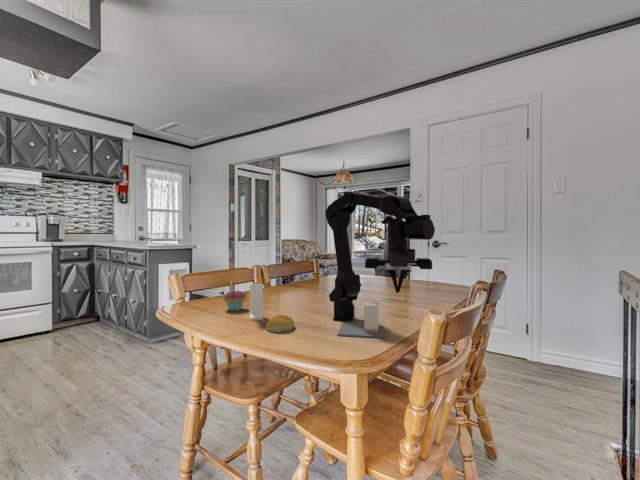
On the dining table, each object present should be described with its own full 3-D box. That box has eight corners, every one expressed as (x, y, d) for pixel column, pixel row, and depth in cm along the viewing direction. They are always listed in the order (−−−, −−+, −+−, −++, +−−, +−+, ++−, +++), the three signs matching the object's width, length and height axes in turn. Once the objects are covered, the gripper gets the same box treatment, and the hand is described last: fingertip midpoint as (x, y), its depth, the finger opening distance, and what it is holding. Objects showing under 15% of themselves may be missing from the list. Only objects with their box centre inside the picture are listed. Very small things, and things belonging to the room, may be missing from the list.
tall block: (364, 332, 98) (364, 305, 98) (365, 327, 103) (365, 301, 103) (378, 333, 97) (378, 305, 97) (378, 328, 102) (378, 302, 102)
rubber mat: (337, 335, 96) (337, 334, 96) (342, 325, 107) (342, 323, 107) (383, 338, 94) (383, 336, 94) (383, 327, 105) (383, 325, 105)
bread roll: (263, 332, 100) (262, 319, 100) (272, 324, 109) (272, 312, 109) (289, 334, 99) (289, 320, 99) (297, 325, 108) (297, 313, 108)
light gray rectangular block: (249, 320, 114) (249, 284, 114) (250, 315, 120) (249, 282, 119) (263, 319, 115) (263, 284, 114) (263, 315, 121) (263, 281, 120)
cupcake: (219, 311, 127) (219, 279, 127) (229, 306, 135) (229, 276, 135) (241, 312, 125) (241, 280, 125) (249, 307, 134) (249, 276, 134)
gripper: (364, 239, 92) (364, 296, 92) (435, 240, 88) (435, 299, 89) (365, 239, 103) (365, 289, 103) (429, 239, 99) (429, 291, 100)
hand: (397, 292), depth 98 cm, fingers closed
